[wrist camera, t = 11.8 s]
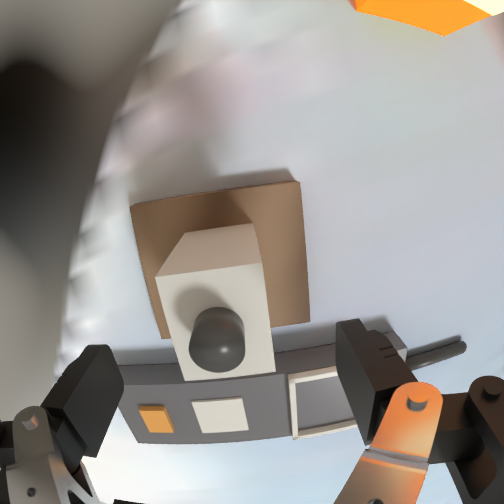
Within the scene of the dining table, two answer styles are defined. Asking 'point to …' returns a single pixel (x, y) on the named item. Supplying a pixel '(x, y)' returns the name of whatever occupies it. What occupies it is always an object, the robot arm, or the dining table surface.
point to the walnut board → (229, 214)
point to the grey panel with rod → (249, 399)
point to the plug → (217, 304)
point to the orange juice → (433, 12)
